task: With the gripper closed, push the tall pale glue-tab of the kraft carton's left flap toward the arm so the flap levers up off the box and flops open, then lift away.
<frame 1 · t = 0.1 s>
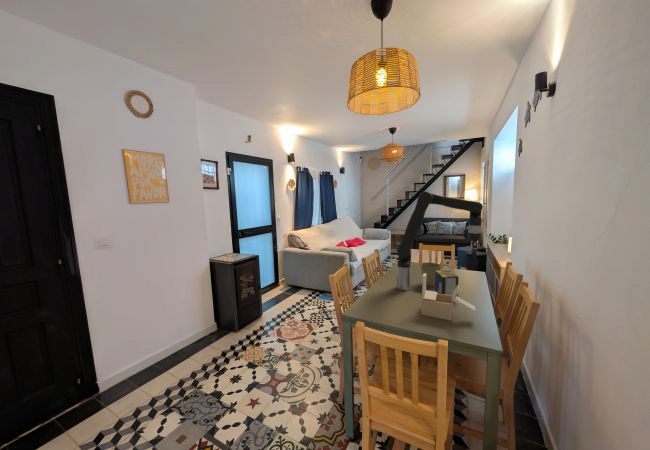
hand: (473, 256, 167), 29 cm above the table, fingers open, 8 cm apart
flap right: (466, 298, 142), point 11 cm above the table, hinge at 115.0°
carton: (437, 312, 150), on the table
flap left: (429, 285, 150), point 16 cm above the table, hinge at 0.0°
protein box: (445, 295, 178), on the table
plant pot: (430, 284, 199), on the table
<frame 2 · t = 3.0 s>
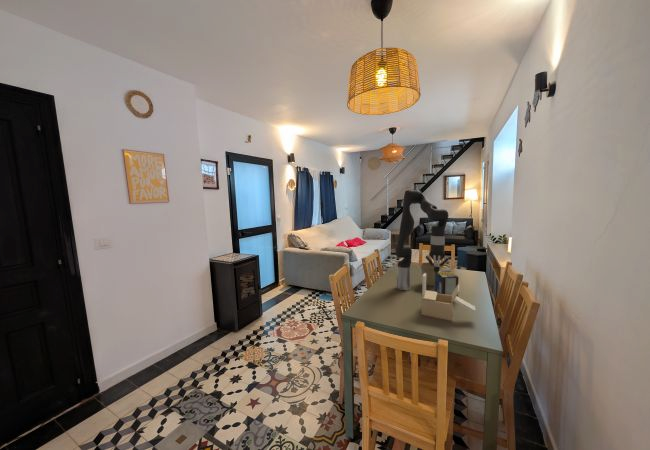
hand: (436, 272, 148), 25 cm above the table, fingers closed
nothing on the table moved.
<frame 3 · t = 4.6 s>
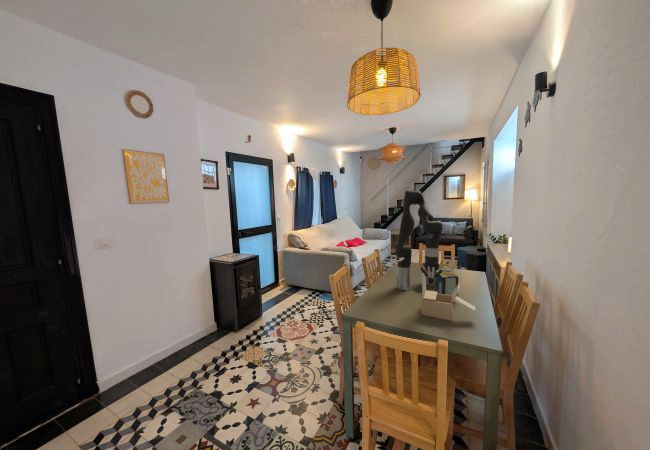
hand: (431, 283, 150), 18 cm above the table, fingers closed
flap left: (429, 285, 151), point 16 cm above the table, hinge at 1.5°, touching hand
everything else where it was.
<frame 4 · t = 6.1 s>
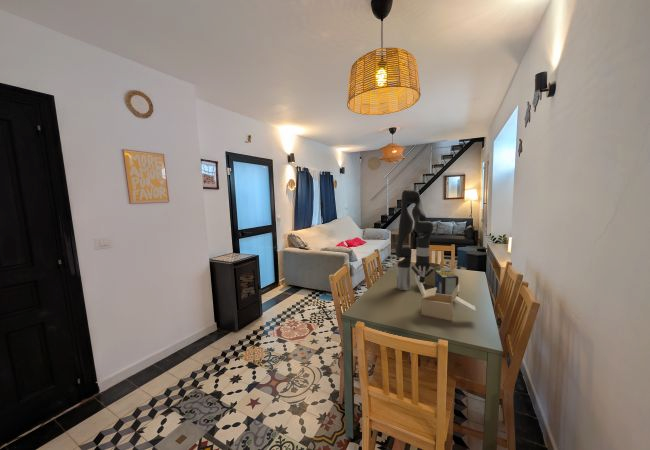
hand: (422, 282, 152), 18 cm above the table, fingers closed
flap left: (425, 283, 152), point 17 cm above the table, hinge at 24.3°, touching gripper
everything else where it was.
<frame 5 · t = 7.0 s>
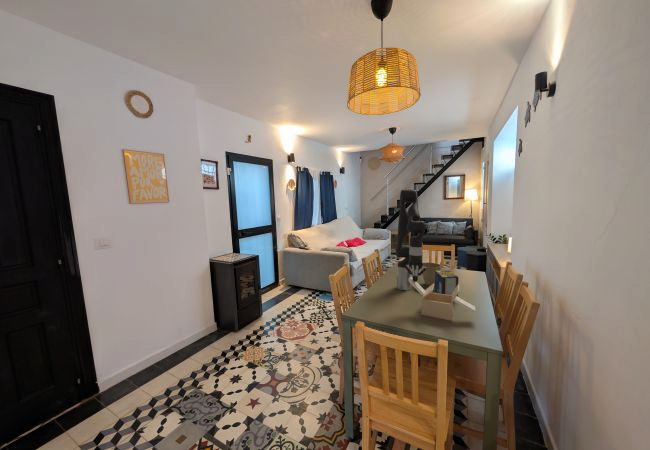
hand: (415, 281, 154), 18 cm above the table, fingers closed
flap left: (420, 283, 153), point 17 cm above the table, hinge at 46.3°, touching gripper
everything else where it was.
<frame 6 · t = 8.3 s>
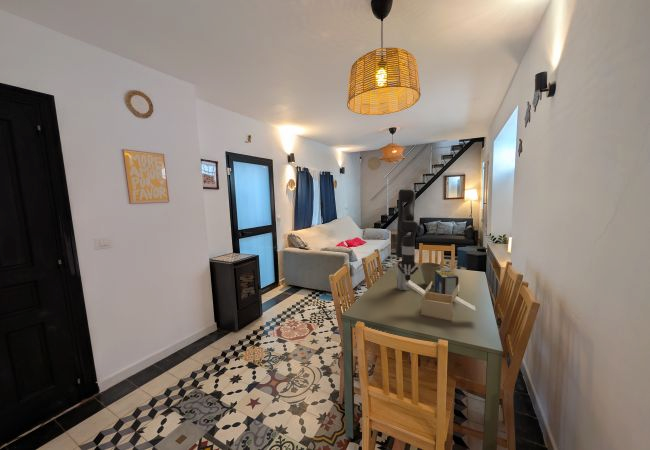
hand: (407, 280, 156), 18 cm above the table, fingers closed
flap left: (418, 283, 154), point 16 cm above the table, hinge at 59.8°
everything else where it was.
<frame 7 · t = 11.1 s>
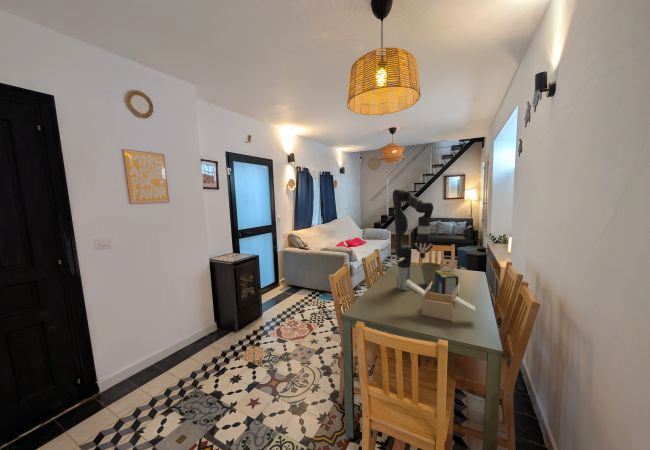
hand: (422, 258, 167), 29 cm above the table, fingers closed
nothing on the table moved.
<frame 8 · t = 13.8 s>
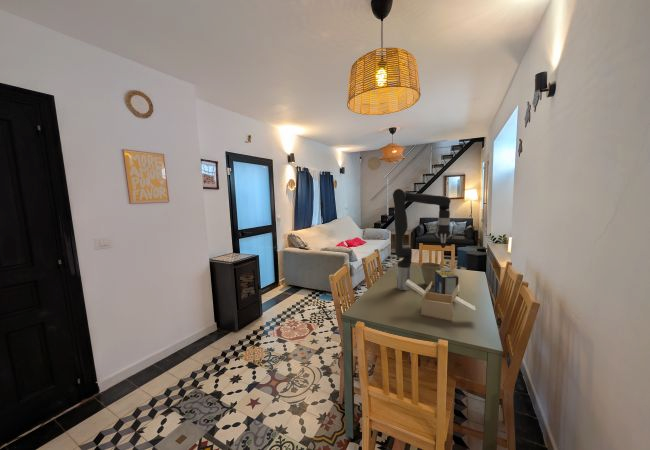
hand: (443, 247, 183), 32 cm above the table, fingers closed
nothing on the table moved.
at the end: flap left at +60° (first picture: +0°); flap right at +115° (first picture: +115°) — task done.
